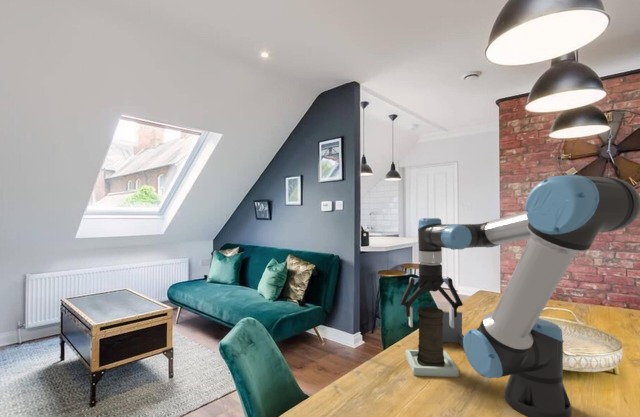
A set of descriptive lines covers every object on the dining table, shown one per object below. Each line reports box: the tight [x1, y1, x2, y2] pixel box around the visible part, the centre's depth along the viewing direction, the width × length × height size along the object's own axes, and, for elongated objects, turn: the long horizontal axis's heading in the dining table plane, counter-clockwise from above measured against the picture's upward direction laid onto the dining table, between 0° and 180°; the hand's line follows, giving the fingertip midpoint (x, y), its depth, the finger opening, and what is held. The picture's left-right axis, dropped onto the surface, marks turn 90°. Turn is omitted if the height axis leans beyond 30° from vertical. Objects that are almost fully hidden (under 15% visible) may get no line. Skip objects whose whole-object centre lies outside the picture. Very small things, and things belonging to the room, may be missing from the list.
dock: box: [442, 310, 465, 349], centre depth 128 cm, size 15×15×12 cm
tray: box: [405, 348, 460, 378], centre depth 113 cm, size 14×14×2 cm
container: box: [417, 306, 445, 367], centre depth 113 cm, size 9×9×18 cm
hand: (431, 326), depth 113 cm, fingers open, 13 cm apart
